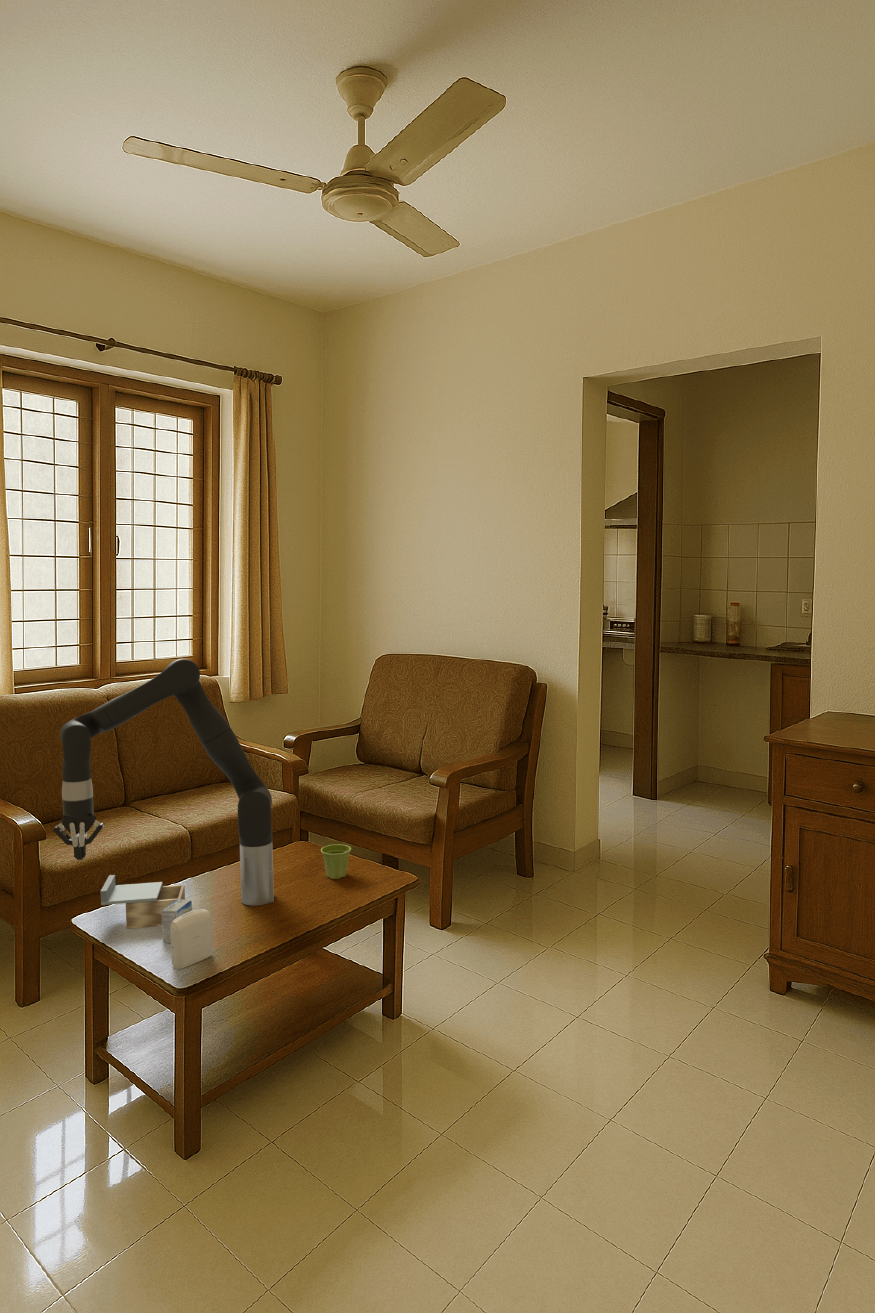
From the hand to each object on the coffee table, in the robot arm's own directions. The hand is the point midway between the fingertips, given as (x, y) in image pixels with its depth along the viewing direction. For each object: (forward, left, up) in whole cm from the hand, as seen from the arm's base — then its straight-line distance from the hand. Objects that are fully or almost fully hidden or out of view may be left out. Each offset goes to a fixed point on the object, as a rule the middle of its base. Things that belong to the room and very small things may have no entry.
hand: (80, 859), depth 219 cm
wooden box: (-19, 0, -18) cm, 26 cm away
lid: (-13, 0, -11) cm, 17 cm away
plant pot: (-70, -22, -18) cm, 76 cm away
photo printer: (-31, +29, -18) cm, 46 cm away
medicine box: (-26, +14, -19) cm, 35 cm away
